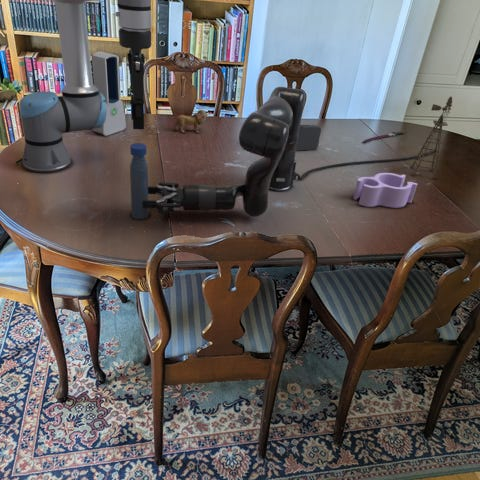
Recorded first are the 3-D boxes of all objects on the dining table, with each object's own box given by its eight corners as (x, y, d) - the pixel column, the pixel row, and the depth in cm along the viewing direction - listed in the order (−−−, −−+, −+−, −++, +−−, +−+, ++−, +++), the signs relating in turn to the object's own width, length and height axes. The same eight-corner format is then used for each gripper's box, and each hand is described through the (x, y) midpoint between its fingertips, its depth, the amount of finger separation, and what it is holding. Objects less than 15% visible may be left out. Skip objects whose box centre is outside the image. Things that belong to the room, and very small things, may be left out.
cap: (139, 157, 124) (139, 150, 123) (127, 153, 126) (127, 146, 125) (149, 153, 127) (149, 146, 126) (137, 149, 129) (137, 141, 128)
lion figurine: (203, 128, 203) (204, 107, 198) (207, 132, 199) (208, 111, 194) (170, 129, 198) (170, 108, 193) (173, 133, 194) (173, 112, 189)
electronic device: (104, 136, 184) (98, 57, 168) (90, 131, 187) (84, 53, 171) (126, 129, 193) (123, 53, 177) (113, 124, 196) (109, 49, 180)
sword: (401, 131, 224) (402, 128, 223) (406, 133, 222) (407, 131, 221) (358, 142, 208) (358, 140, 207) (363, 145, 206) (363, 142, 205)
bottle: (141, 221, 134) (139, 152, 123) (128, 215, 136) (125, 147, 125) (152, 214, 138) (151, 147, 126) (139, 209, 140) (137, 142, 128)
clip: (365, 210, 152) (371, 191, 148) (346, 193, 162) (351, 174, 158) (416, 205, 158) (422, 187, 155) (395, 189, 168) (400, 171, 164)
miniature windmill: (435, 179, 179) (462, 101, 163) (413, 175, 180) (438, 97, 164) (432, 170, 187) (457, 94, 170) (410, 166, 188) (434, 91, 171)
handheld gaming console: (315, 147, 196) (319, 124, 190) (317, 149, 194) (322, 126, 188) (264, 149, 189) (267, 125, 183) (266, 152, 187) (269, 127, 181)
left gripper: (117, 20, 116) (121, 111, 129) (120, 35, 101) (124, 137, 113) (147, 22, 118) (149, 111, 131) (155, 37, 103) (155, 137, 115)
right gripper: (198, 175, 140) (143, 174, 137) (201, 198, 128) (141, 197, 126) (197, 197, 144) (143, 196, 141) (200, 221, 133) (142, 221, 130)
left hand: (137, 123), depth 122 cm, fingers open, 6 cm apart
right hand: (142, 197), depth 134 cm, fingers open, 8 cm apart
